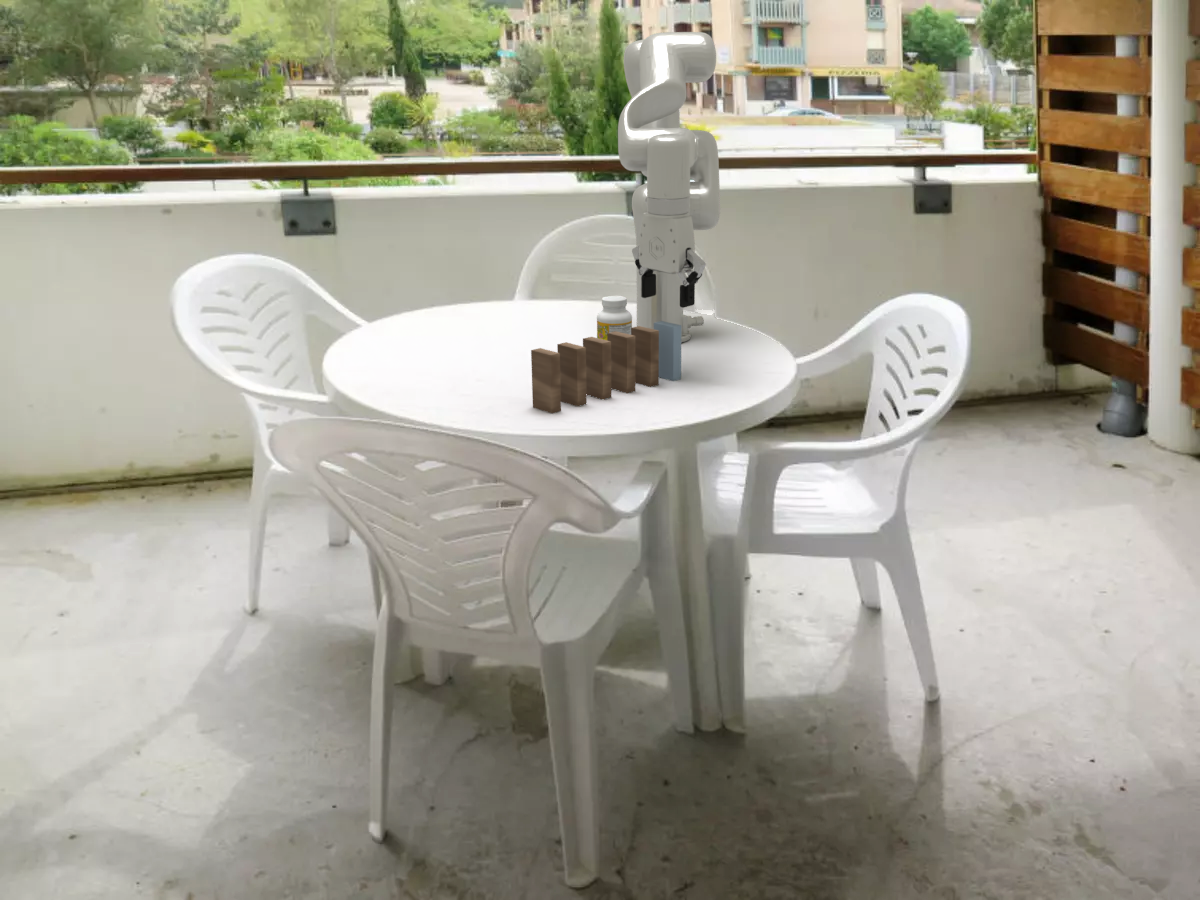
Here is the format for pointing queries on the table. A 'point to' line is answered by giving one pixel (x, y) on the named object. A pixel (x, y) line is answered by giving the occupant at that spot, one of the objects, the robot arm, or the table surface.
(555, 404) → the domino
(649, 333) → the domino
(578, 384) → the domino
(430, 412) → the table surface
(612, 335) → the domino
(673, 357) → the domino
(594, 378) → the domino
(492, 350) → the table surface
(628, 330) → the supplement bottle
